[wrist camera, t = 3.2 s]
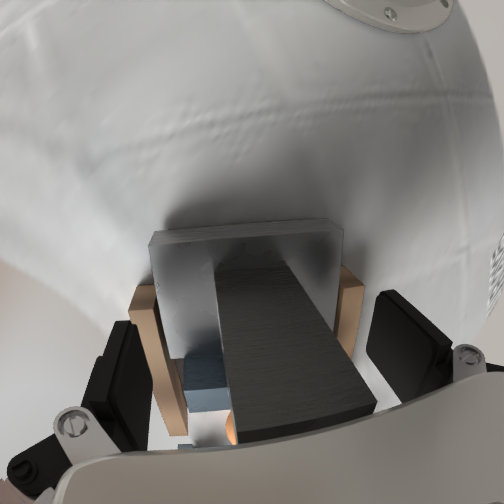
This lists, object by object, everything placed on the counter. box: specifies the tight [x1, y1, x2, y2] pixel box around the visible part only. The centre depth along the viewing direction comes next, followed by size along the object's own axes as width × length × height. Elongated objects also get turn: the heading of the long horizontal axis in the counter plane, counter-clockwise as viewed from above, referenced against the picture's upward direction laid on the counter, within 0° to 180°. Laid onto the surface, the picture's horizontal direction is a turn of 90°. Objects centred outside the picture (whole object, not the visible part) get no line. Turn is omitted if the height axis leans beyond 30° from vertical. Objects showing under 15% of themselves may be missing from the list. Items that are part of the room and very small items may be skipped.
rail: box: [128, 266, 365, 436], centre depth 16 cm, size 10×11×2 cm
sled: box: [148, 218, 377, 444], centre depth 11 cm, size 8×8×10 cm
